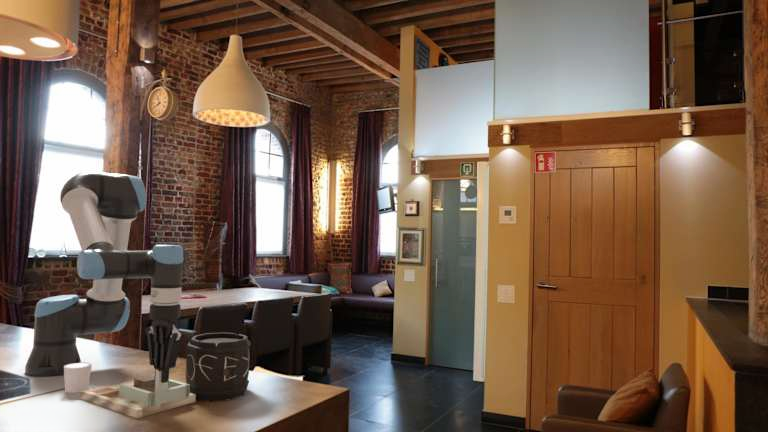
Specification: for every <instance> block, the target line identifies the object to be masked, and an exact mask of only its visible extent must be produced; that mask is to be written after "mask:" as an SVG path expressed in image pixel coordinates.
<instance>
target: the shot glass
mask: <svg viewBox="0 0 768 432" xmlns="http://www.w3.org/2000/svg"><path fill="white" fill-rule="evenodd" d="M91 371H92V363H91V362H81V363H72V364H67V365H65V366H64V374H63V378H64V392H65V393H68V394H77V393H82V391H85V390H89V386H90V379H91V378H90V377H91Z"/></svg>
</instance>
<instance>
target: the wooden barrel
mask: <svg viewBox="0 0 768 432" xmlns="http://www.w3.org/2000/svg"><path fill="white" fill-rule="evenodd" d="M250 347H251V341H250V340H249V338H248V336H247V335H245V334H241V333H238V334H237V332H236V333H235V332H234V333H233V332H207V333H202V334H197V335H193V337H192V338H191V339H190V341H189V342H188V344H186V348H185V349H187V355H186V362H185V383H186V384H190V393H193V394H196V400H195V401H205V400H209V401H208V402H218V401H219V400H220V401H228V400H227V399H230V400H233V398H234V399H236V398H235V397H237V398H239V397H242V396H244V395H245V392H246V390H248V387H249V382H250V380H248V379H249V373H250V357H251V354H250V353H251V352H250ZM241 395H242V396H241ZM238 396H239V397H238ZM220 401H219V402H220Z"/></svg>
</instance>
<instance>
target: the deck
mask: <svg viewBox="0 0 768 432" xmlns="http://www.w3.org/2000/svg"><path fill="white" fill-rule="evenodd" d="M121 384H126V385H130V386H133V387H134V379H132V380H131V379H130V380H126V381H121V382H118V383H117V382H116V383H113V384H108V385H104V386H100V387H95V388H89V389H88V390H85V391H82V392H81V396H80V397H81V398H80V399H81V400H84V401H87V402H88V403H89V402H90V403H93V404H95V405H98V406H100V407H104V408H106V409H109V410H112V411H115V412H117V413H121V414H124V415H126V416H129V417H132V418H135V419H140V418H144V417H147V416H148V417H149V416H150V415H155V414H157V413H160V412H165V411H168V410H172V409H175V408H179V407H182V406H185V405H188V404H193V403H195V402H196V401H197V400H196V394H193V393H190V396H188V397H184V398H180V399H177V400H173V401H169V402H166V403H162V404H158V405H155V406H151V407H150V406H147V405H144V404H141V403H138V402H135V401H132V400H129V399H126V398H123V397H120V396H119V389H120V385H121Z"/></svg>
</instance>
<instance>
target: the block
mask: <svg viewBox="0 0 768 432" xmlns="http://www.w3.org/2000/svg"><path fill="white" fill-rule="evenodd" d="M133 380H134V387H136V388H140V389H143V390H146V391H150V392H155V376H153V375H149V374H148V375H144V376H140V377H136V378H133Z"/></svg>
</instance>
